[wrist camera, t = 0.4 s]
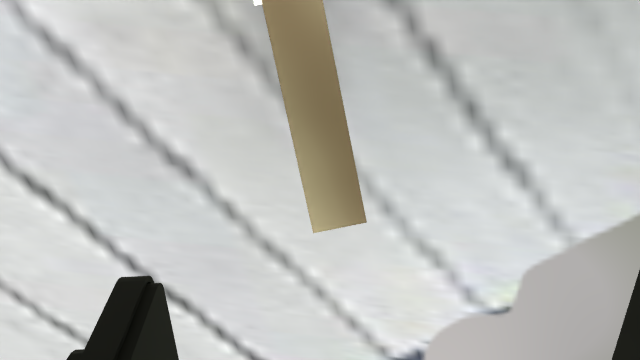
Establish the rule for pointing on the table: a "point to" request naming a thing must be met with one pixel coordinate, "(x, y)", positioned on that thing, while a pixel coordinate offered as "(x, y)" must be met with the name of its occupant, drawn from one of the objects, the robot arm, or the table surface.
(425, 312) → the table surface
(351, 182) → the picture frame
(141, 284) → the robot arm
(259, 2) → the frame stand
